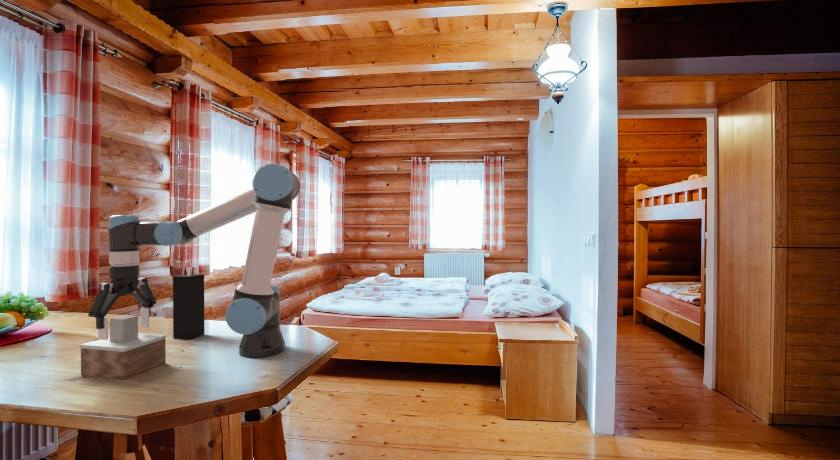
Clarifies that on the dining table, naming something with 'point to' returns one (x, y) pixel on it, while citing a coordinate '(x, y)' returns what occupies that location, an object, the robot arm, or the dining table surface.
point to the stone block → (123, 328)
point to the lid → (125, 346)
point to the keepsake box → (122, 361)
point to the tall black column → (188, 305)
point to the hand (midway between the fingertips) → (125, 333)
